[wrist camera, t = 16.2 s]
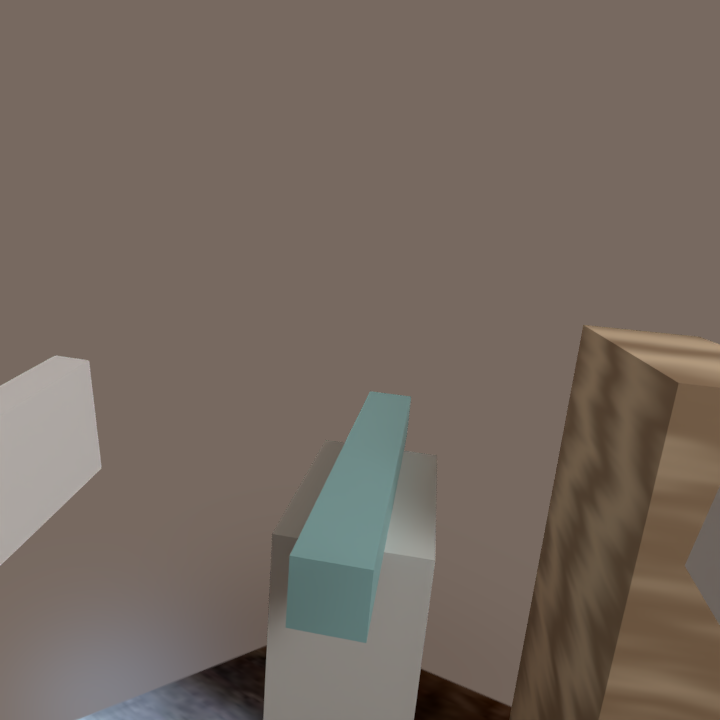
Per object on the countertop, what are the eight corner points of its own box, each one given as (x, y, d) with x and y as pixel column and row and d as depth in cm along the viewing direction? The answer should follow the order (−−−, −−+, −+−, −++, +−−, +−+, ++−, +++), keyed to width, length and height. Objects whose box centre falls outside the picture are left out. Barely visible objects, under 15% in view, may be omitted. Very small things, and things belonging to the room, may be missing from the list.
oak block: (656, 1070, 28) (880, 405, 19) (523, 1034, 29) (678, 382, 20) (586, 802, 42) (699, 337, 33) (497, 783, 43) (583, 325, 34)
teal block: (366, 643, 22) (373, 570, 21) (285, 627, 22) (289, 555, 22) (406, 435, 45) (411, 396, 44) (366, 429, 45) (370, 391, 45)
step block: (388, 910, 34) (435, 560, 28) (255, 877, 35) (272, 533, 29) (403, 720, 48) (437, 455, 41) (307, 700, 49) (325, 440, 42)
